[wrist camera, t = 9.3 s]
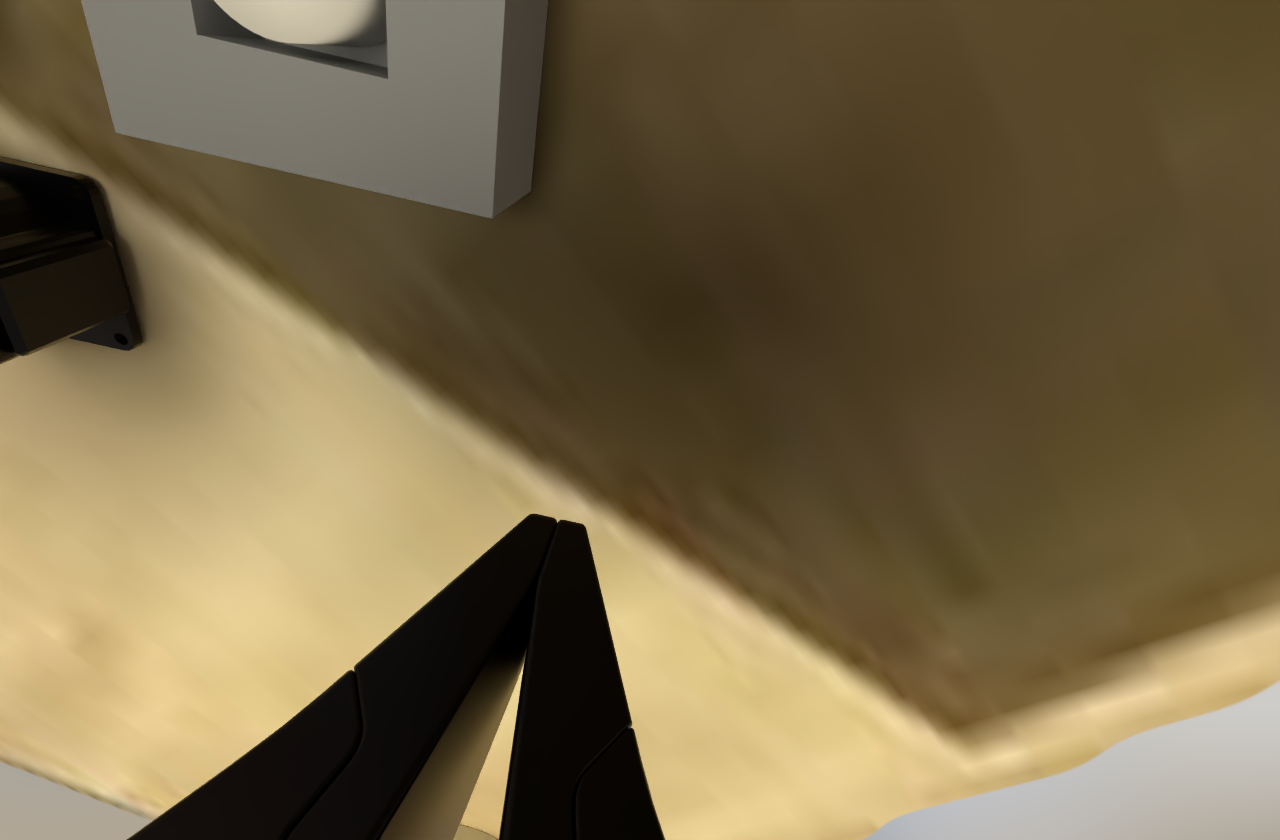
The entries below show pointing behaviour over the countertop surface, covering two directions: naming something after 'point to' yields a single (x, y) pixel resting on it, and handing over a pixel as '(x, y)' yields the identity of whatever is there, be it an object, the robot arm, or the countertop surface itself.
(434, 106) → the button panel
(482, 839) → the reusable coffee cup
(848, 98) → the countertop surface
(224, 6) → the button pale
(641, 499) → the countertop surface
